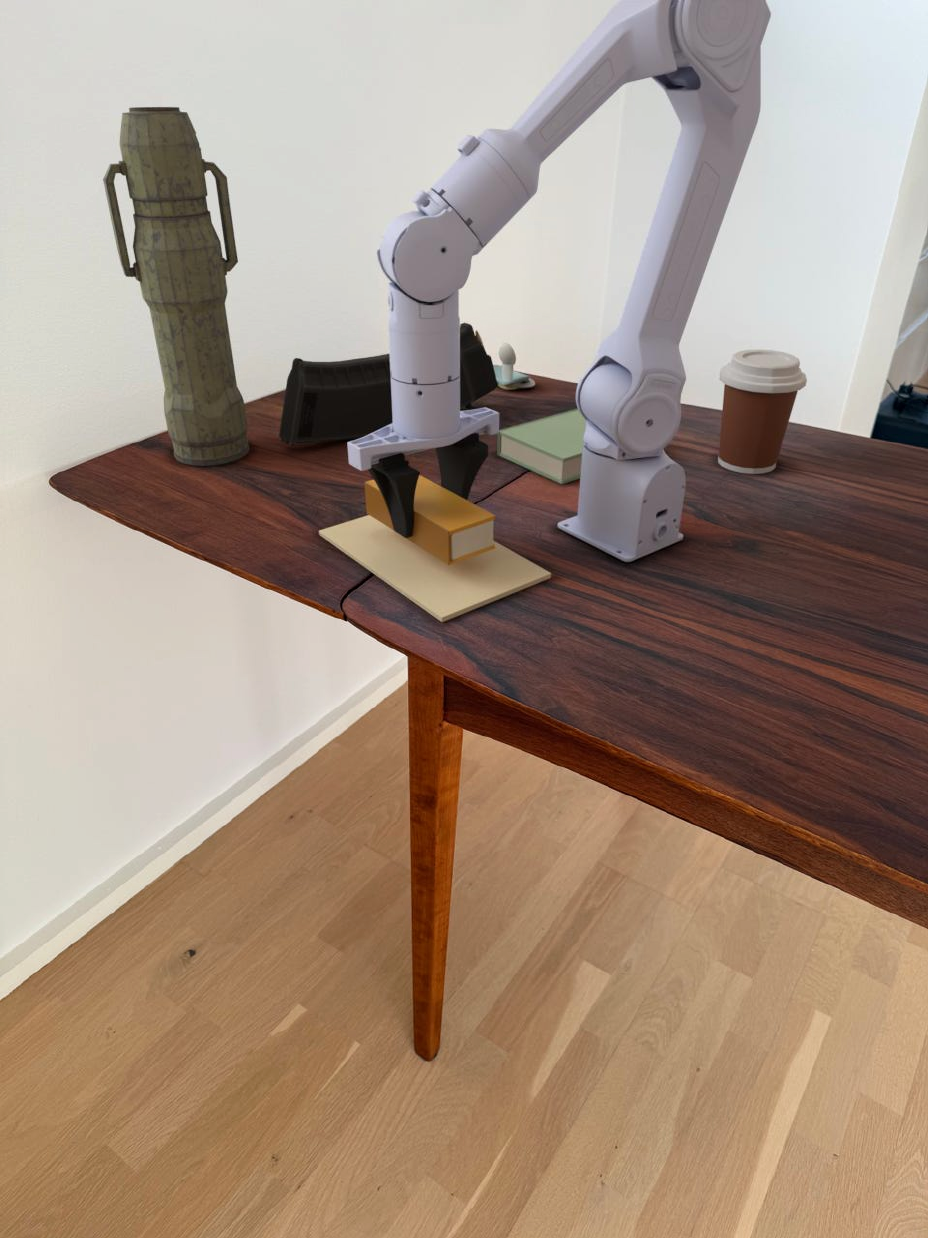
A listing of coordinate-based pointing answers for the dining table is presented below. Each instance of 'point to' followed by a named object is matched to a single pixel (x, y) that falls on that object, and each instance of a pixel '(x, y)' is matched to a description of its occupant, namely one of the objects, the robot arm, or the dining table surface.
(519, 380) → the pacifier
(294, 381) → the magazine
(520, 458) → the hardback
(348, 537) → the mat
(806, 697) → the dining table surface
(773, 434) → the coffee cup (beverage)
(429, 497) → the pocket book
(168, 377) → the green canister
